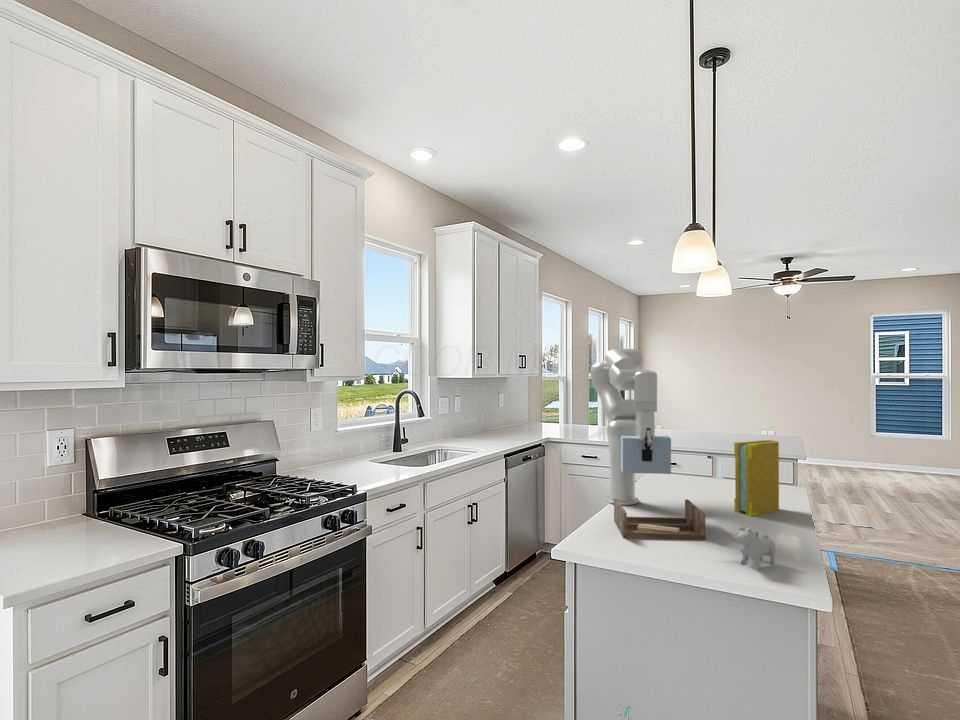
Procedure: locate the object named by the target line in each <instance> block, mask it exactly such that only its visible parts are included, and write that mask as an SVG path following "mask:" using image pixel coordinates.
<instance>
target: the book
mask: <svg viewBox="0 0 960 720" xmlns="http://www.w3.org/2000/svg"><path fill="white" fill-rule="evenodd" d="M779 443H780V442H779V441H778V440H771V439H769V440H768V439H763V440H762V439H760V440H751V441H749V440H748V441H738V442H737V441H736V442H733V448H734V449H733V452H734V453H733V454H734V457H735V458H734V460H735V463H734V465H735V478H734V479H735V481H734V482H735V498H734V512H735V513H738V514H740V512H741V513H745V516H748V515H749V517H754V516H758V515H761V514H763V513H764V514H768V513H776V512H779V511H780V481H779V480H780V478H779V477H780V466H779V465H780V464H779V463H780V462H779V461H780V460H779V459H780V458H779V457H780V455H779V453H780V452H779V450H780V448H779V447H780V446H779ZM764 514H763V515H764ZM753 515H754V516H753Z"/></svg>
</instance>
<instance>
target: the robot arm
mask: <svg viewBox="0 0 960 720" xmlns="http://www.w3.org/2000/svg"><path fill="white" fill-rule="evenodd" d="M643 362H644V361H643V355H642V353H641V352H640V351H639V350H638V349H637V348H614V349H610V350H608V351H607V352H606V354H605V355H604V361H598V362H596V363H594V364H593V365H592V366H591V368H590V379H591V384H592V387H593V389H594V390H595V393H597V395H598V396H599V398H600V401H601V404H602V409H603V412H604V415H605V417H606V420H607V421H608V422H609V423H608V424H607V427H606V435H607V441H608V452H609V454H608V455H609V458H608V459H609V460H608V461H609V495H607V496H605V501H606V502H607V503H610V504H612V505H614V498H617V499H618V500H619V502H620V504H621V505H622V506H632V505H633V506H634V505H637V504H639V503H640V499H639V498H638V496H637V497H636V495H635V494H636V490H635V489H636V487H635V486H636V479H635V478H636V473H623V472H622V471H621V436H636V437H638V438H639V440H640V441H642V440H643V449H642V461H652V441H653V440H654V436H655V434H656V433H655V428H656V427H655V412H656V413H657V412H658V374H657V372H655V371H652V370H649V369H646V368H645V369H641V368H642V366H643ZM621 391H633V392H634V393H633V395H634V397H633V398H634V399H633V398H632V399H626V398H623V396H622V393H621ZM651 437H652V438H653V439H652V438H651ZM644 439H647V440H644ZM645 442H647V443H645ZM612 502H613V503H612Z"/></svg>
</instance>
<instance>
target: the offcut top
mask: <svg viewBox="0 0 960 720" xmlns="http://www.w3.org/2000/svg"><path fill="white" fill-rule="evenodd" d="M638 524H639V525H638V527H637V530H636V532H654V533H680V531H679V528H674V527H665V526H657V525H648V524H649V523H638Z"/></svg>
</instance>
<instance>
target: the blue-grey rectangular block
mask: <svg viewBox="0 0 960 720" xmlns="http://www.w3.org/2000/svg"><path fill="white" fill-rule="evenodd" d="M651 438H652V437H651ZM652 439H653V438H652ZM644 440H647V439H644ZM645 443H647V442H645ZM642 449H643V440H642V441H640V440H639V438H638V437H636V436H621V471H622V472H623V473H635V474H653V475H654V474H657V475H658V474H659V475H660V474H663V475H666V474H667V475H668V474H669V475H670V474H671V473H672V438H671V437H669V436H668V435H667V436H666V435H663V436H661V435H654V440H653V441H652V461H642Z"/></svg>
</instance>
